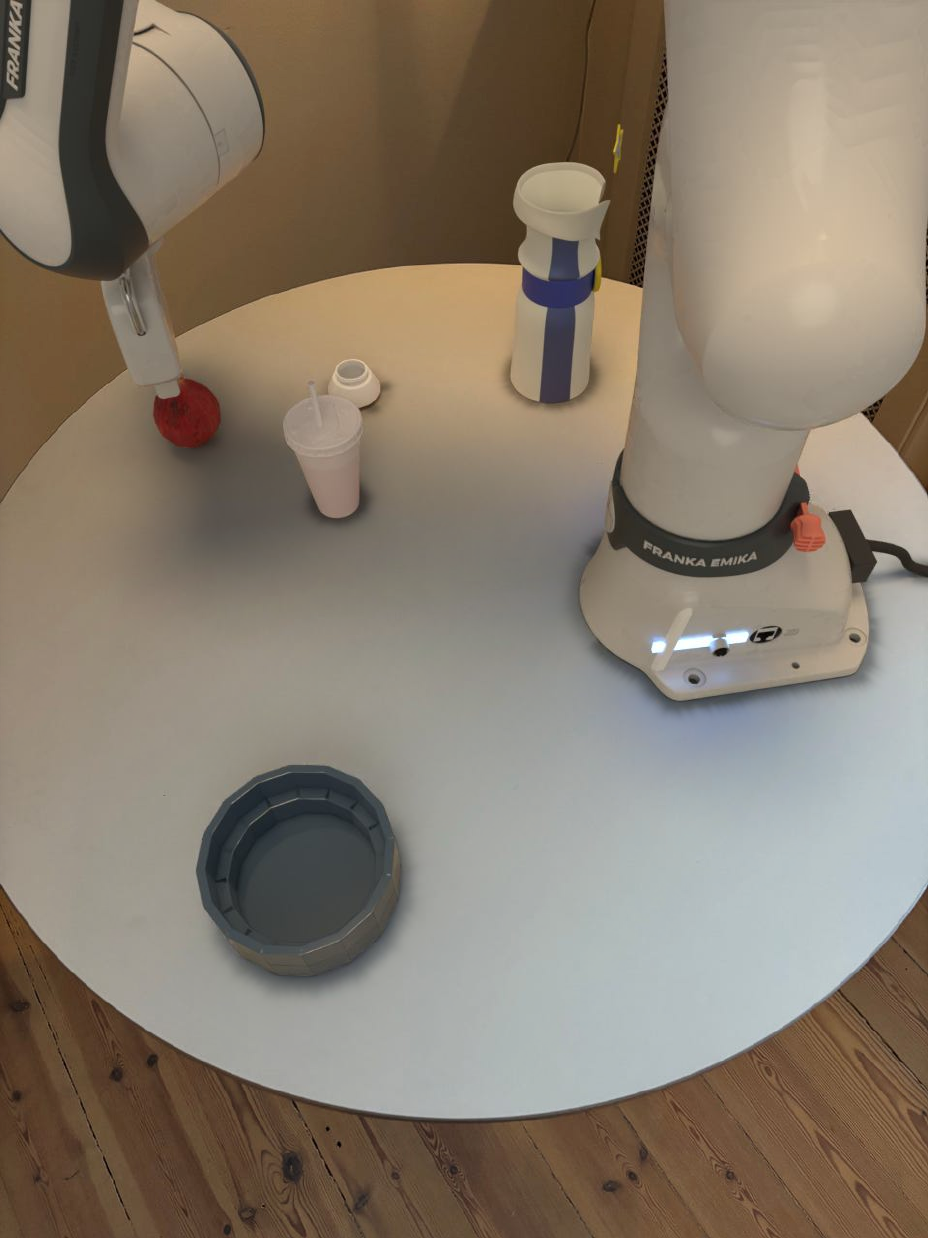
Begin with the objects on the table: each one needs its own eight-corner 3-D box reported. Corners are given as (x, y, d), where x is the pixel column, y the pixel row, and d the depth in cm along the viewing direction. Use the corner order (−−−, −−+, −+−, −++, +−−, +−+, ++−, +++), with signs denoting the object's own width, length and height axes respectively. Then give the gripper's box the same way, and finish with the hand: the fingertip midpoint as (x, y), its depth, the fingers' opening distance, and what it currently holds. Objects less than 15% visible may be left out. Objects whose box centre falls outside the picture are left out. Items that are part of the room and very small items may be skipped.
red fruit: (216, 470, 83) (192, 403, 77) (157, 461, 84) (128, 395, 77) (237, 425, 86) (217, 358, 80) (180, 418, 87) (155, 350, 81)
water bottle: (586, 342, 92) (614, 82, 72) (599, 401, 87) (634, 139, 67) (504, 348, 92) (510, 88, 71) (513, 407, 87) (522, 146, 66)
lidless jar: (354, 418, 87) (391, 391, 89) (351, 395, 84) (388, 367, 86) (318, 395, 89) (355, 369, 91) (313, 371, 86) (351, 344, 88)
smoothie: (291, 523, 79) (258, 400, 68) (315, 470, 83) (288, 344, 71) (362, 535, 79) (340, 413, 67) (383, 481, 82) (366, 356, 70)
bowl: (407, 800, 65) (400, 766, 60) (393, 981, 58) (384, 958, 53) (236, 795, 65) (217, 762, 61) (202, 974, 58) (178, 951, 54)
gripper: (171, 275, 60) (219, 430, 72) (135, 123, 71) (181, 278, 83) (73, 294, 59) (138, 448, 71) (52, 137, 70) (111, 292, 82)
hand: (161, 355), depth 77 cm, fingers open, 8 cm apart
